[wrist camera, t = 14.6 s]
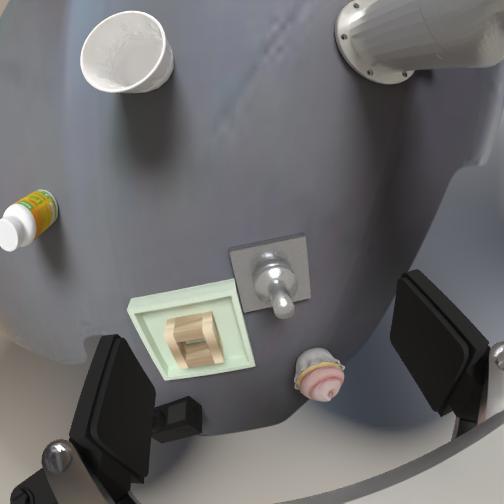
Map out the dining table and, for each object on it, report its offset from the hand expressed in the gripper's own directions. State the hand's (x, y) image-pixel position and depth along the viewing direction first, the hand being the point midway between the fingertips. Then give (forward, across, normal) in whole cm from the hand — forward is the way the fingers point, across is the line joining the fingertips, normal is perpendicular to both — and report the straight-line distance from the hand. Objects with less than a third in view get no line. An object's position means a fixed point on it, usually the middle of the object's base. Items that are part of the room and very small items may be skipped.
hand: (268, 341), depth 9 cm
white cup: (+28, +7, -15) cm, 33 cm away
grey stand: (+28, -3, +15) cm, 32 cm away
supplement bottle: (+28, +26, -2) cm, 39 cm away
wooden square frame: (+28, +10, +22) cm, 37 cm away
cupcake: (+28, -8, +35) cm, 46 cm away
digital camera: (+29, +21, +42) cm, 55 cm away
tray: (+28, +10, +22) cm, 38 cm away
